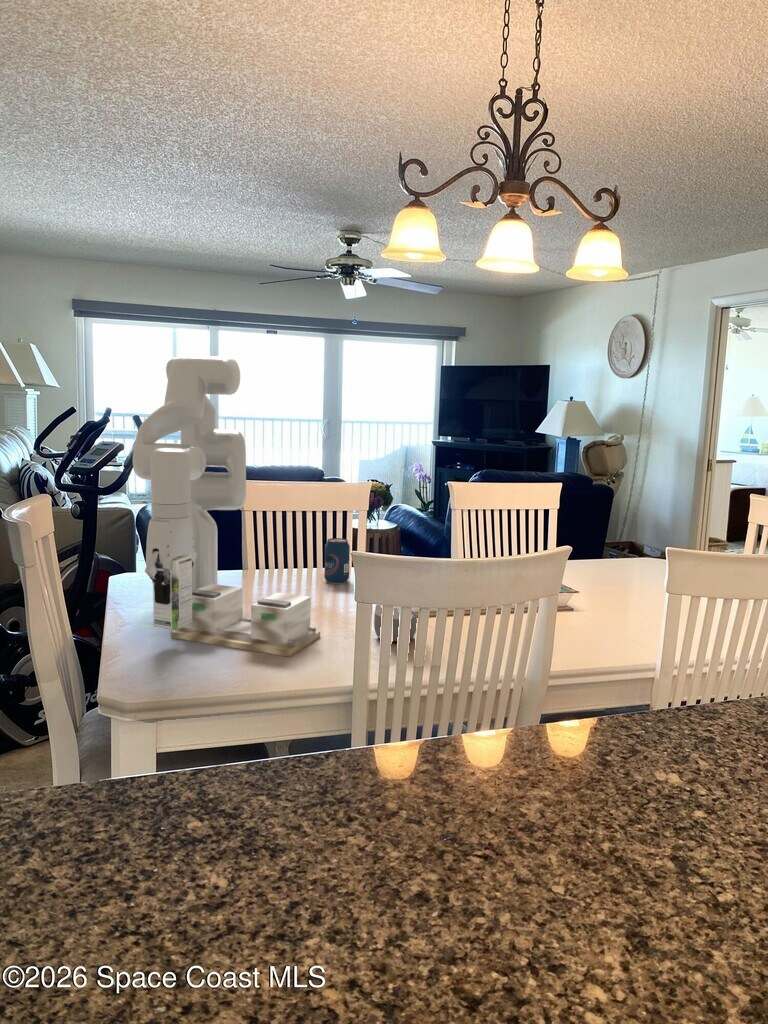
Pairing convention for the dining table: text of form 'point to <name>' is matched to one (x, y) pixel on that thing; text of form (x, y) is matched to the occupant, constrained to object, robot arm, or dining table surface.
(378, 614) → the smart speaker
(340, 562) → the soda can
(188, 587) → the syrup box
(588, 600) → the dining table surface
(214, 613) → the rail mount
